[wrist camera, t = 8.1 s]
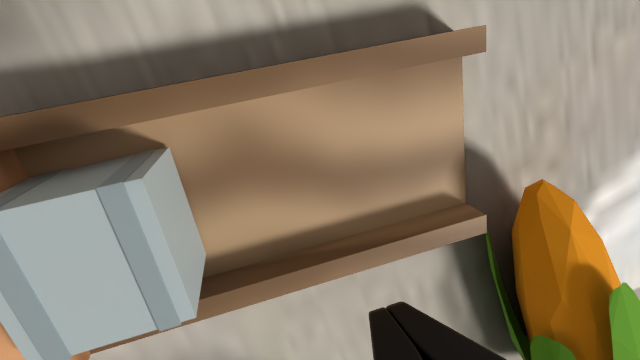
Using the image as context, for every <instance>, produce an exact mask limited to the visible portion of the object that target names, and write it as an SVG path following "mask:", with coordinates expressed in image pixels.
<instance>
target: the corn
mask: <svg viewBox="0 0 640 360" xmlns="http://www.w3.org/2000/svg"><path fill="white" fill-rule="evenodd" d="M485 235H486V242H487V249H488V256H489V262H490V268H491V271H492V275H493V278H494V281H495V285H496V288H497V292H498V295H499V299H500V302H501V306H502V309H503V313H504V316H505V320H506V323H507V327H508V330H509V333H510V337H511V340H512V342H513V343H514V345H515V347H516V348H517V350H518V352H519V353H520V355H521V357H522V358H523V360H640V301H639V299H638V298H637V296H636V294H635V293H634V291H633V290H632V289H631V288H630V287H629V286H628V285H627V283H622V284H621V283H620V281H619V279H618V276H617V274H616V272H615V269H614V267H613V265H612V262H611V260H610V257H609V255H608V253H607V250H606V248H605V246H604V243H603V241H602V239H601V238H600V236H599V235H598V234H597V232H596V231H595V229H594V228H593V226H592V225H591V223H590V222H589V220H588V219H587V217H586V216H585V215H584V213H583V212H582V210H581V209H580V207H579V206H578V204H577V203H576V201H575V200H574V199H572V198H571V197H569V196H568V195H567V194H565V193H564V192H562V191H561V190H560V189H558V188H557V187H555V186H554V185H552V184H550V183H548V182H546V181H545V180H543V179H542V180H540V181H538V182H536V183H534V184H532V185H530V186H528V187H526V188H525V190H524V193H523V196H522V200H521V203H520V206H519V209H518V212H517V216H516V219H515V222H514V225H513V229H512V244H513V257H514V270H515V283H516V293H517V297H518V301H519V304H520V308H521V312H522V315H523V319H524V323H525V327H526V330H527V334H528V337H527V336H525V335H524V334H523V332H522V330H521V328H520V325H519V323H518V321H517V318H516V316H515V314H514V312H513V309H512V307H511V305H510V302H509V300H508V298H507V296H506V292H505V289H504V285H503V282H502V278H501V274H500V271H499V269H498V266H497V263H496V260H495V257H494V254H493V249H492V244H491V239H490V235H489V231H488V230H487V233H485ZM528 338H529V339H528Z"/></svg>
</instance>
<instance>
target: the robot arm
mask: <svg viewBox="0 0 640 360" xmlns="http://www.w3.org/2000/svg"><path fill="white" fill-rule="evenodd" d="M369 322H370V331H371V340H372V349H373V358H374V360H506V359H505V358H503V357H501V356H499V355H497V354H496V353H494V352H492V351H490V350H489V349H487V348H485V347H483V346H481V345H480V344H478V343H476V342H474V341H473V340H471V339H469V338H467V337H465V336H464V335H462V334H460V333H458V332H456V331H455V330H453V329H451V328H449V327H448V326H446V325H444V324H442V323H440V322H439V321H437V320H435V319H433V318H432V317H430V316H428V315H426V314H424V313H423V312H421V311H419V310H417V309H415V308H414V307H412V306H410V305H408V304H407V303H405V302H398V303H395V304H392V305H389V306H387V307H386V308H380V309H376V310H373V311H371V312H369Z"/></svg>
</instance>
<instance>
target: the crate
mask: <svg viewBox="0 0 640 360" xmlns="http://www.w3.org/2000/svg"><path fill="white" fill-rule="evenodd" d="M205 258H206V252H205V249H204V247H203V244H202V241H201V238H200V235H199V232H198V229H197V226H196V223H195V220H194V218H193V215H192V212H191V209H190V206H189V203H188V200H187V197H186V194H185V192H184V189H183V186H182V183H181V180H180V177H179V174H178V171H177V168H176V165H175V163H174V160H173V157H172V154H171V151H170V148H169V147H166V148H162V149H157V150H156V149H152V150H148V151H143V152H138V153H137V154H134V155H130V156H125V157H121V158H116V159H112V160H107V161H103V162H98V163H93V164H89V165H84V166H80V167H75V168H71V169H66V170H64V169H61V170H56V171H52V172H47V173H44V174H42V175H39V176H34V177H30V178H28V179H26V180H24V181H22V182H20V183H18V184H16V185H15V186H13V187H11V188H9V189H7V190H5V191H3V192H1V193H0V322H1V324H2V325H3V327H4V328H5V330H6V331H7V333H8V334H9V336H10V338H11V339H12V341H13V342H14V344H15V345H16V347H17V348H18V350H19V351H20V353H21V354H22V356H23V357H24V359H25V360H69V359H71V358H72V356H73V355H75V354H79V353H82V352H85V351H89V350H92V349H95V348H98V347H102V346H105V345H108V344H112V343H115V342H118V341H121V340H125V339H128V338H131V337H134V336H138V335H141V334H144V333H148V332H151V331H154V330H157V329H159V331H163V330H167V329H170V328H173V327H176V326H180V325H181V322H184V321H187V320H190V319H194V318H196V316H197V309H198V303H199V296H200V290H201V283H202V277H203V271H204V264H205Z"/></svg>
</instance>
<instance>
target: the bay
mask: <svg viewBox="0 0 640 360" xmlns="http://www.w3.org/2000/svg"><path fill="white" fill-rule="evenodd" d="M482 52H486V25H483V26H478V27H472V28H467V29H461V30H456V31H450V32H445V33H440V34H435V35H429V36H424V37H419V38H414V39H408V40H403V41H398V42H393V43H387V44H382V45H377V46H372V47H366V48H361V49H356V50H350V51H345V52H340V53H335V54H329V55H324V56H319V57H314V58H308V59H303V60H298V61H293V62H287V63H282V64H277V65H272V66H266V67H261V68H256V69H251V70H245V71H240V72H235V73H230V74H224V75H219V76H214V77H209V78H203V79H198V80H193V81H188V82H182V83H177V84H172V85H167V86H161V87H156V88H151V89H146V90H140V91H135V92H130V93H125V94H119V95H114V96H109V97H103V98H98V99H93V100H88V101H82V102H77V103H72V104H67V105H61V106H56V107H51V108H46V109H40V110H35V111H30V112H25V113H19V114H14V115H9V116H4V117H0V193H1V192H3V191H5V190H7V189H9V188H11V187H13V186H15V185H16V184H18V183H20V182H22V181H24V180H26V179H28V178H30V177H34V176H39V175H42V174H44V173H47V172H52V171H56V170H61V169H64V170H66V169H71V168H75V167H80V166H84V165H89V164H93V163H98V162H103V161H107V160H112V159H116V158H121V157H125V156H130V155H134V154H137V153H138V152H143V151H148V150H152V149H156V150H157V149H162V148H166V147H169V148H170V151H171V154H172V157H173V160H174V163H175V165H176V168H177V171H178V174H179V177H180V180H181V183H182V186H183V189H184V192H185V194H186V197H187V200H188V203H189V206H190V209H191V212H192V215H193V218H194V220H195V223H196V226H197V229H198V232H199V235H200V238H201V241H202V244H203V247H204V249H205V252H206V258H205V264H204V271H203V277H202V283H201V290H200V296H199V303H198V309H197V316H196V318H194V319H190V320H187V321H184V322H181V325H180V326H176V327H173V328H170V329H167V330H163V331H159V329H157V330H154V331H151V332H148V333H144V334H141V335H138V336H134V337H131V338H128V339H125V340H121V341H118V342H115V343H112V344H108V345H105V346H102V347H98V348H95V349H92V350H89V351H85V352H82V353H79V354H75V355H73V356H72V358H71V359H69V360H88V359H89V357H90V355H91V354H93V353H96V352H99V351H103V350H106V349H109V348H112V347H116V346H119V345H122V344H125V343H129V342H132V341H135V340H138V339H142V338H145V337H148V336H152V335H155V334H158V333H161V332H165V331H168V330H171V329H174V328H178V327H181V326H184V325H187V324H191V323H194V322H197V321H200V320H204V319H207V318H210V317H213V316H217V315H220V314H223V313H227V312H230V311H233V310H236V309H240V308H243V307H246V306H249V305H253V304H256V303H259V302H262V301H266V300H269V299H272V298H275V297H279V296H282V295H285V294H288V293H292V292H295V291H298V290H302V289H305V288H308V287H311V286H315V285H318V284H321V283H324V282H328V281H331V280H334V279H337V278H341V277H344V276H347V275H350V274H354V273H357V272H360V271H363V270H367V269H370V268H373V267H376V266H380V265H383V264H386V263H390V262H393V261H396V260H399V259H403V258H406V257H409V256H412V255H416V254H419V253H422V252H425V251H429V250H432V249H435V248H438V247H442V246H445V245H448V244H451V243H455V242H458V241H461V240H465V239H468V238H471V237H474V236H478V235H481V234H484V233H487V215H486V214H484V213H483V212H481V211H479V210H477V209H476V208H474V207H472V206H470V205H469V204H467V203H466V192H465V154H464V117H463V79H462V56H467V55H472V54H477V53H482ZM0 360H25V359H24V357H23V356H22V354H21V353H20V351H19V350H18V348H17V347H16V345H15V344H14V342H13V341H12V339H11V338H10V336H9V334H8V333H7V331H6V330H5V328H4V327H3V325H2V324H1V322H0Z"/></svg>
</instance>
